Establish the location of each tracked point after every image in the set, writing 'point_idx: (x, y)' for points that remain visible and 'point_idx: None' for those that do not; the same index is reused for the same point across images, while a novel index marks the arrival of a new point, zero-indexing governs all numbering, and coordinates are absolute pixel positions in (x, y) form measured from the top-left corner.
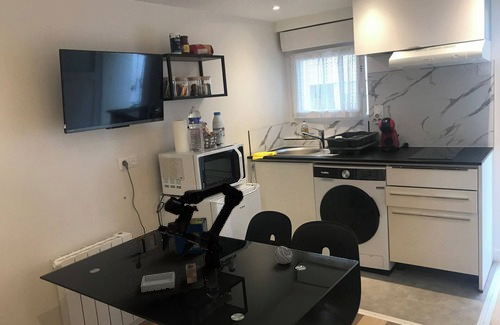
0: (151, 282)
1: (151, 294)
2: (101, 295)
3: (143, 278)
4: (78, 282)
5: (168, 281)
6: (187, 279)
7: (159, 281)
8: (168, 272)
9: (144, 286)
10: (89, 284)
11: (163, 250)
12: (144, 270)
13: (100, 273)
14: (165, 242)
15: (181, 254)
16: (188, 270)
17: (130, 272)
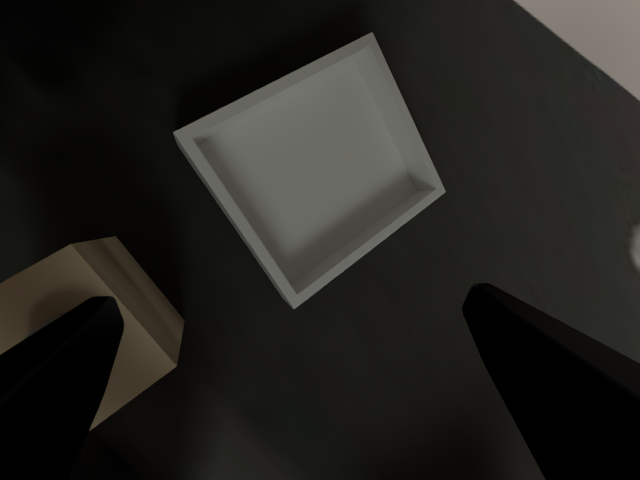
0: (370, 175)
1: (275, 27)
2: (509, 11)
3: (424, 156)
4: (635, 132)
5: (275, 213)
6: (102, 238)
7: (333, 200)
8: (326, 282)
9: (351, 42)
10: (599, 120)
11: (475, 288)
12: None
13: (616, 227)
14: (609, 416)
15: (84, 319)
16: (47, 257)
17: (530, 273)
